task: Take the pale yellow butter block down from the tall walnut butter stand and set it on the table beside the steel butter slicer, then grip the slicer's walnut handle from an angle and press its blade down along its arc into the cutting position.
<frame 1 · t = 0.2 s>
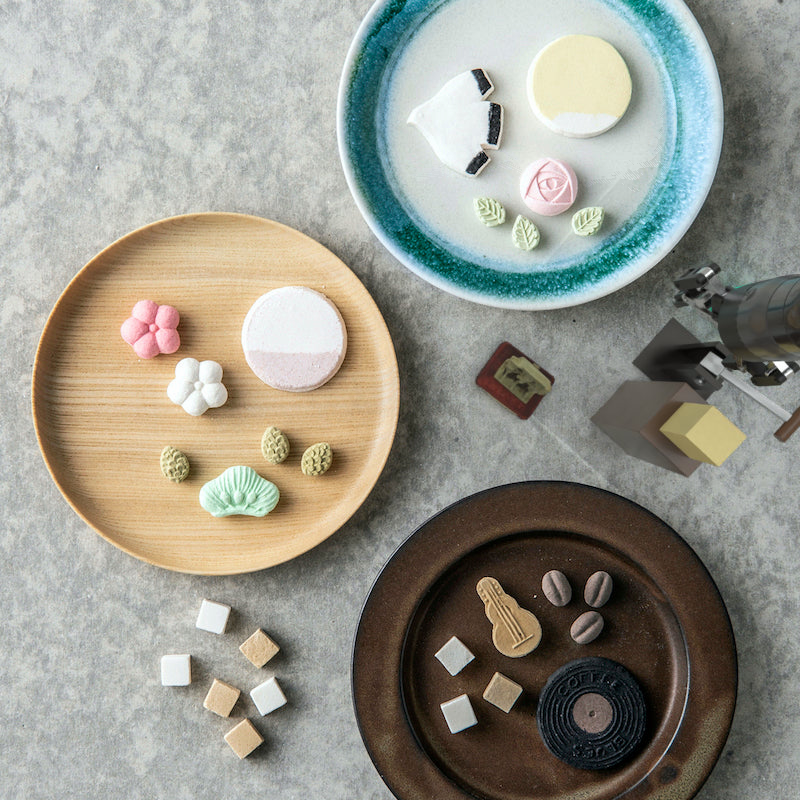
hand: (705, 329, 80), 28 cm above the table, tool pointing down, fingers open, 8 cm apart
slicer: (679, 366, 108), on the table
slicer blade: (750, 392, 93), point 14 cm above the table, hinge at 25.0°
butter stand: (625, 417, 108), on the table
candle: (725, 310, 107), on the table
sculpture: (511, 380, 108), on the table
butter: (687, 430, 84), point 24 cm above the table, touching butter stand
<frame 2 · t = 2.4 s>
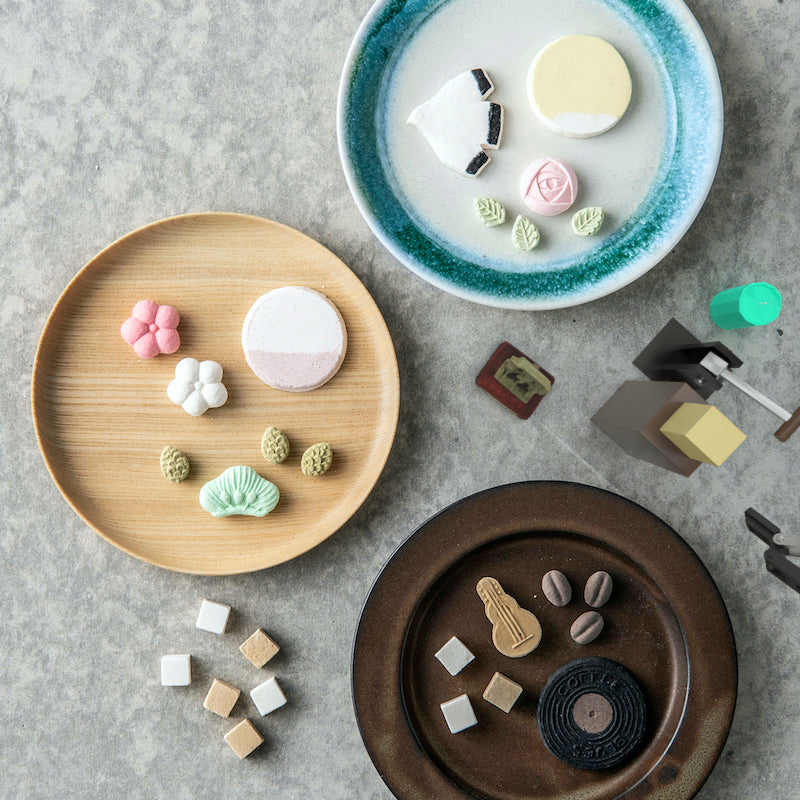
hand: (780, 487, 71), 37 cm above the table, tool tilted 40°, fingers open, 8 cm apart
nothing on the table moved.
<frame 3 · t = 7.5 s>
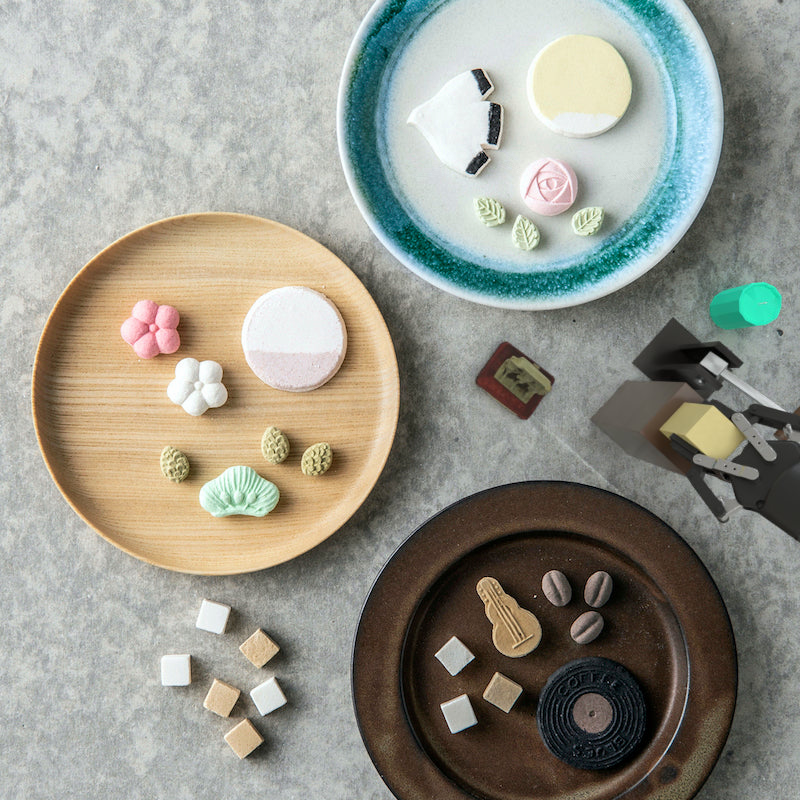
hand: (688, 421, 80), 28 cm above the table, tool tilted 45°, fingers closed on butter, 4 cm apart
butter: (687, 430, 84), point 24 cm above the table, touching butter stand, gripper
everything else where it was.
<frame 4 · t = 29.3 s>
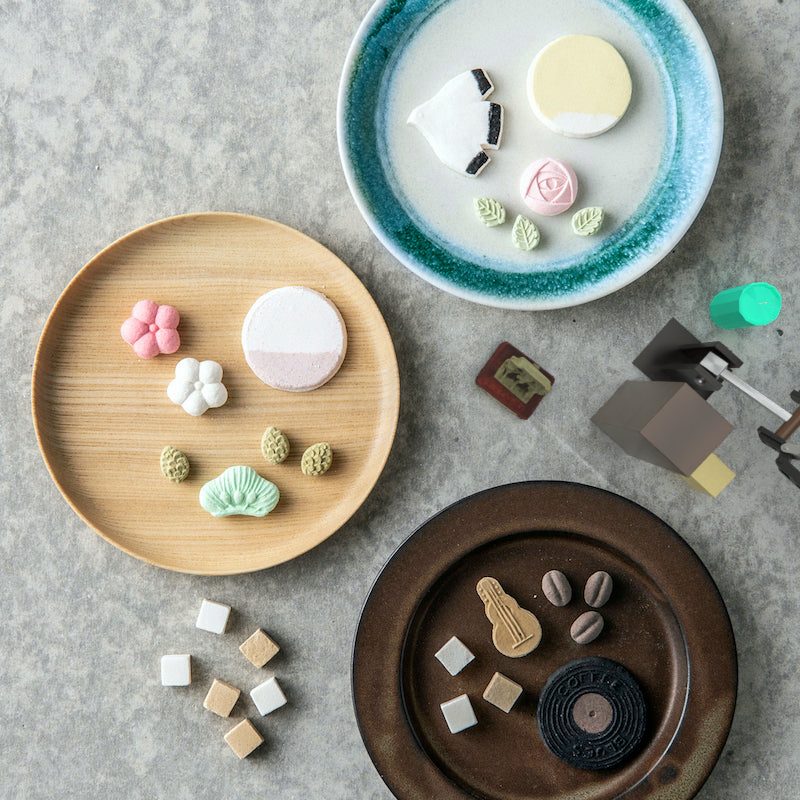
hand: (776, 412, 93), 15 cm above the table, tool tilted 45°, fingers closed on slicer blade, 5 cm apart
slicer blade: (750, 392, 93), point 14 cm above the table, hinge at 25.0°, touching gripper
butter: (690, 467, 108), on the table
everything else where it was.
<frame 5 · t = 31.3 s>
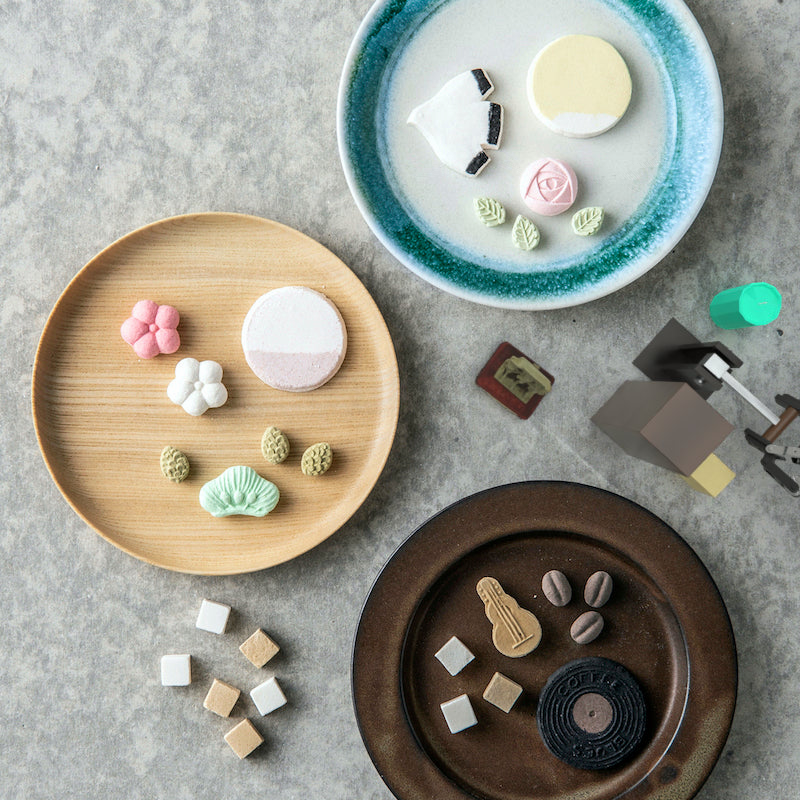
hand: (761, 415, 98), 10 cm above the table, tool tilted 45°, fingers closed on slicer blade, 5 cm apart
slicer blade: (745, 394, 96), point 12 cm above the table, hinge at 0.4°, touching gripper
everything else where it was.
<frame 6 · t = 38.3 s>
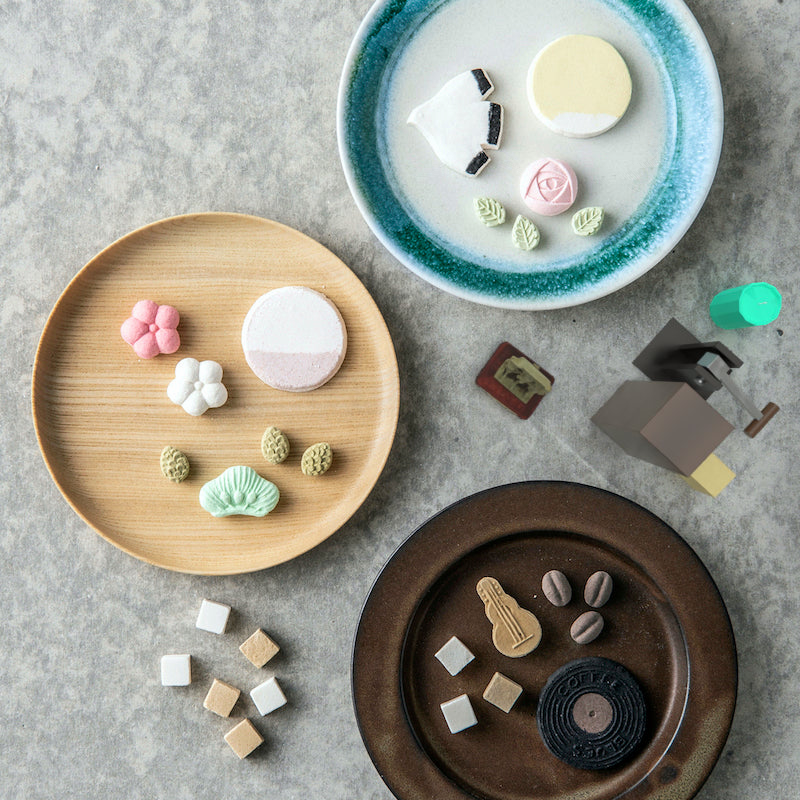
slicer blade: (736, 392, 98), point 10 cm above the table, hinge at -19.3°
everything else where it was.
at the end: butter 0.1 cm from the target spot on the table beside the slicer, on the table; butter tilted 0°; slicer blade at -19° (first picture: +25°) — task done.
